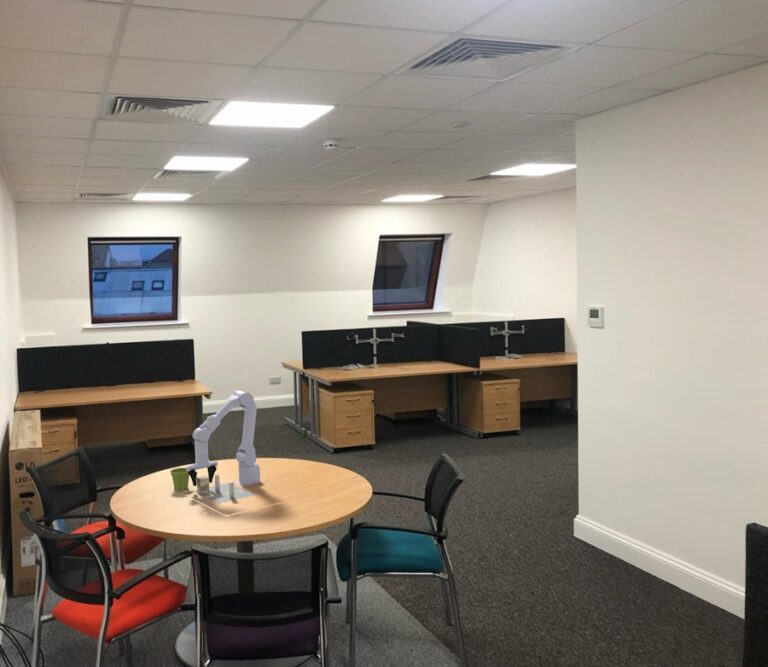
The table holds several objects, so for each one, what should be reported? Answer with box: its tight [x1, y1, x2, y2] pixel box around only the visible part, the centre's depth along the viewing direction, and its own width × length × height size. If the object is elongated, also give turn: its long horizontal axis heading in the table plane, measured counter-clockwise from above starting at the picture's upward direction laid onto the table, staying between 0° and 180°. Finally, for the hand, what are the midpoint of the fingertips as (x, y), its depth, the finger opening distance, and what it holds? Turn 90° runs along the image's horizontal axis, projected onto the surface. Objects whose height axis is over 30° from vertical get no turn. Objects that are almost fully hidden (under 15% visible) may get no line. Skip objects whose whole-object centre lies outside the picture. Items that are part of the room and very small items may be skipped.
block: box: [196, 475, 210, 492], centre depth 329 cm, size 4×4×6 cm
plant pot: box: [169, 467, 190, 491], centre depth 336 cm, size 9×9×9 cm
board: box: [193, 474, 256, 504], centre depth 327 cm, size 18×24×8 cm
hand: (202, 484), depth 330 cm, fingers open, 7 cm apart
